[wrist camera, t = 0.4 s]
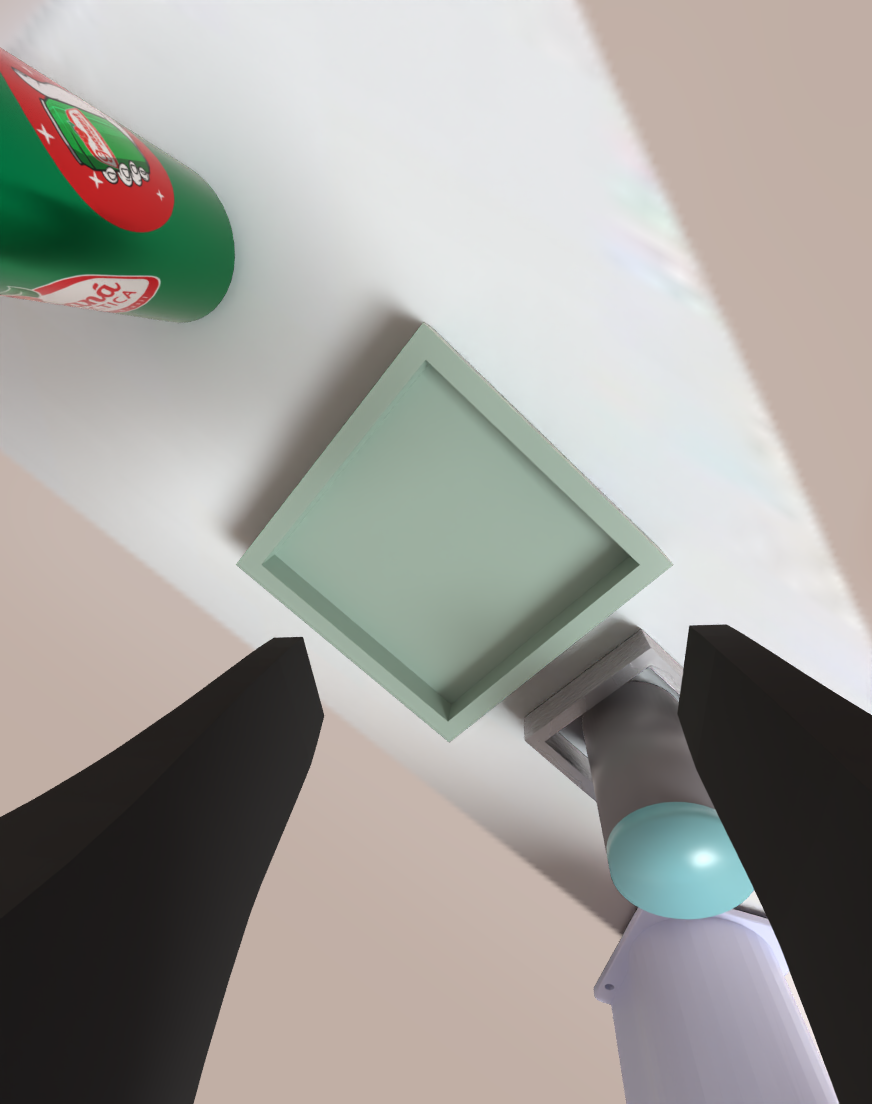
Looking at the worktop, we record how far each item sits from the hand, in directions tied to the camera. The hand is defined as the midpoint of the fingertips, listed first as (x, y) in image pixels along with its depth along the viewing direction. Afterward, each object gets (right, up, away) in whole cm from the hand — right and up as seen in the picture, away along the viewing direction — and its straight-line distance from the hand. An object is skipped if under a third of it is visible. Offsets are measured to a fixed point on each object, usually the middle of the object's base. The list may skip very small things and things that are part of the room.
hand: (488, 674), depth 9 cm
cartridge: (+8, -5, +12) cm, 16 cm away
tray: (-1, +3, +11) cm, 11 cm away
